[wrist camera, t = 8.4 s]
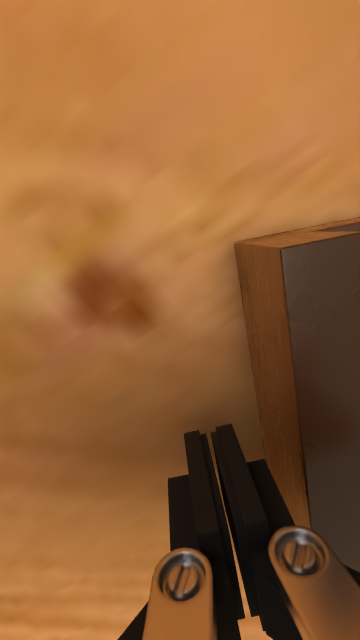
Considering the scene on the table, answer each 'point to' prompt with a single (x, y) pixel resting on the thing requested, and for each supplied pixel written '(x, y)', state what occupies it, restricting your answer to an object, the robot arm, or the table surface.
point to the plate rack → (309, 371)
